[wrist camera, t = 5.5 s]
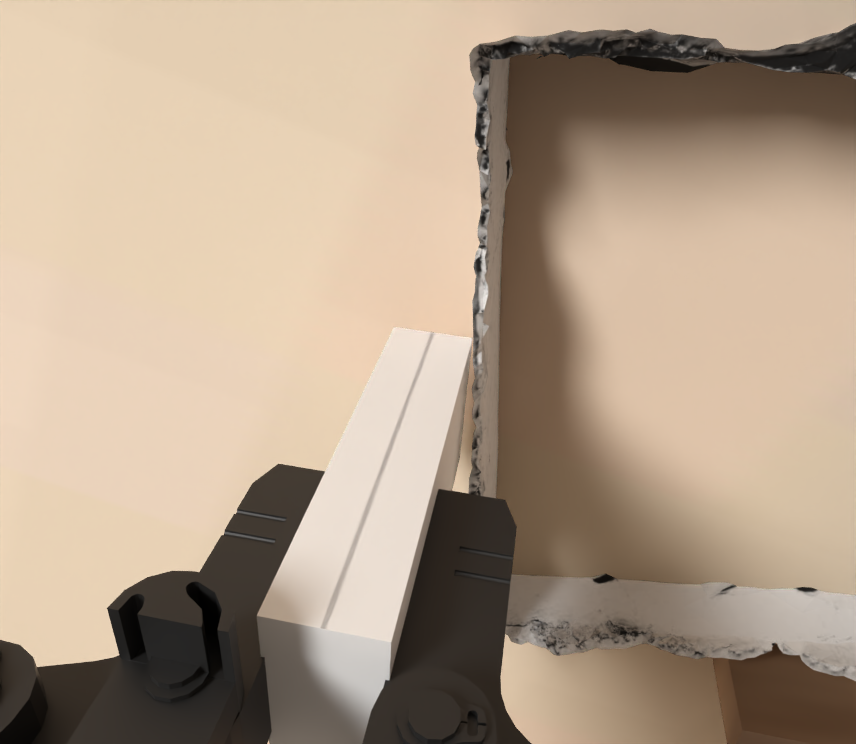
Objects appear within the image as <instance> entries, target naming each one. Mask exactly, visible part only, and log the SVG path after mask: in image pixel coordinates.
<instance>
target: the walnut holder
mask: <svg viewBox="0 0 856 744" xmlns="http://www.w3.org/2000/svg"><path fill="white" fill-rule="evenodd" d="M713 664H714V670H715V675H716V681H717V687H718V693H719V699H720V704H721V710H722V716H723V722H724V727H725V733H726V739H727V744H856V681H854V680H852V679H850V678H847V677H845V676H833V675H830V674H826V673H823V672H819V671H816V670H813V669H811V668H810V667H809V666H807V665H806V664H805V663H804V662H803V661H802V660H801V657H800V655H788V654H784V653H783V652H782V651H781V650H780V649H779V647H778V645H777V644H775V645H774V646H773V647H772V651H769V652H767V653H764V654H761V655H759V656H757V657H755V658H746V659H744V660H735V659H727V658H713Z"/></svg>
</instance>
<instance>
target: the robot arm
mask: <svg viewBox="0 0 856 744" xmlns="http://www.w3.org/2000/svg"><path fill="white" fill-rule="evenodd" d="M471 347H472V338H469V337H462V336H455V335H448V334H440V333H434V332H427V331H420V330H413V329H406V328H399V327H394V328H393V330H392V332H391V334H390V336H389V338H388V340H387V343H386V345H385V347H384V349H383V351H382V353H381V355H380V357H379V359H378V361H377V364H376V366H375V368H374V370H373V372H372V374H371V376H370V378H369V380H368V382H367V385H366V387H365V389H364V391H363V393H362V395H361V397H360V399H359V401H358V404H357V406H356V408H355V410H354V412H353V414H352V416H351V418H350V420H349V422H348V425H347V427H346V429H345V431H344V433H343V435H342V437H341V439H340V441H339V443H338V446H337V448H336V450H335V452H334V454H333V456H332V458H331V460H330V462H329V465H328V467H327V469H326V471H325V472H324V471H318V470H312V469H306V468H300V467H295V466H289V465H283V464H278V465H276V466H275V467H274V468H272V469H271V470H270V471H268V472H267V473H266V474H264V475H263V476H262V477H260V478H259V479H258V480H256V481H255V482H254V483H252V485H251V487H250V489H249V490H248V492H247V494H246V495H245V497H244V499H243V500H242V502H241V504H240V505H239V507H238V509H237V513H236V514H234V515H233V517H232V519H231V520H230V522H229V524H228V525H227V527H226V529H225V533H224V535H221V537H220V539H219V540H218V542H217V544H216V545H215V547H214V549H213V551H212V552H211V554H210V556H209V557H208V559H207V561H206V562H205V564H204V566H203V567H202V569H201V571H200V572H193V571H170V572H166V573H163V574H159V575H155V576H151V577H147V578H146V579H144V580H142V581H140V582H138V583H137V584H135V585H133V586H131V587H129V588H128V589H126V590H124V591H123V592H122V594H121V595H120V596H119V597H118V598H117V599H116V600H115V601H114V602H113V603H112V604H111V605H110V606H109V607H108V608H107V609H108V613H109V617H110V621H111V624H112V628H113V632H114V636H115V639H116V643H117V647H118V651H119V654H120V655H119V656H117V657H114V658H109V659H104V660H99V661H93V662H83V663H74V664H64V665H54V666H44V667H36V664H35V661H34V659H33V657H32V656H31V655H30V654H29V653H28V652H27V651H26V650H25V649H24V648H23V647H22V646H20V645H18V644H14V643H10V642H6V641H2V640H0V744H267V743H268V740H269V743H270V744H531V743H530V742H529V741H528V740H527V739H526V738H525V737H524V736H523V735H522V733H521V732H520V731H519V730H518V729H517V728H516V727H515V725H514V723H513V722H512V720H511V718H510V716H509V715H508V713H507V711H506V709H505V706H504V702H503V699H502V695H501V682H500V675H501V666H502V657H503V648H504V638H505V629H506V620H507V611H508V601H509V592H510V582H511V574H512V564H513V555H514V546H515V537H516V525H515V522H514V520H513V517H512V515H511V513H510V510H509V508H508V506H507V503H506V501H505V500H503V499H497V498H491V497H485V496H479V495H473V494H467V493H461V492H455V491H452V488H453V484H454V480H455V475H456V471H457V467H458V462H459V458H460V450H461V441H462V432H463V422H464V413H465V403H466V394H467V385H468V375H469V366H470V357H471Z"/></svg>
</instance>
